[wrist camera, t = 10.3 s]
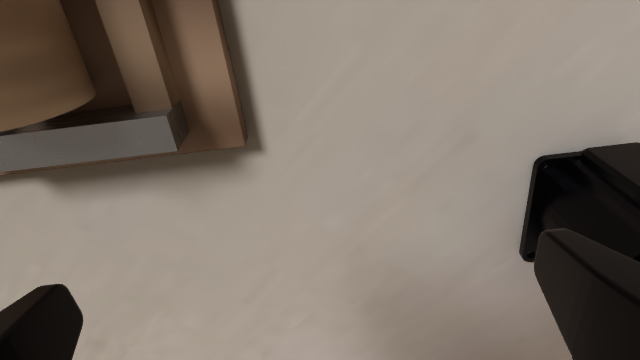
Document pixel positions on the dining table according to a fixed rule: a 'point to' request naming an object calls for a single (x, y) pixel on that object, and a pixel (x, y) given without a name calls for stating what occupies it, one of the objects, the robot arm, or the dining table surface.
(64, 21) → the tan wooden cylinder
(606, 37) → the dining table surface
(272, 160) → the dining table surface
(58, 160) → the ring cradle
